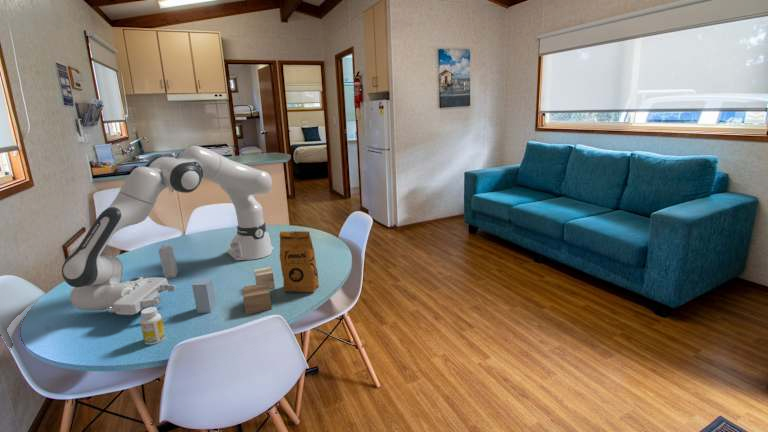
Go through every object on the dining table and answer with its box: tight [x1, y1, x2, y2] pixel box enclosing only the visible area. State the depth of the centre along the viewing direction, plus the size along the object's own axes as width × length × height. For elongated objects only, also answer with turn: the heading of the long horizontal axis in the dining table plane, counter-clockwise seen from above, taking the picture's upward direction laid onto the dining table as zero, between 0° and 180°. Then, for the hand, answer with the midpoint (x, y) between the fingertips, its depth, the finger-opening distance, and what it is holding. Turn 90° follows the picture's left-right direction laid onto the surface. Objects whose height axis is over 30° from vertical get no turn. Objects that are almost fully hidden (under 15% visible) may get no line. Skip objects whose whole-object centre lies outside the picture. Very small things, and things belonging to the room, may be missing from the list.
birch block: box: [253, 266, 276, 290], centre depth 147 cm, size 6×6×6 cm
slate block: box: [191, 278, 217, 314], centre depth 131 cm, size 4×4×10 cm
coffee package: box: [279, 230, 320, 293], centre depth 141 cm, size 10×12×22 cm
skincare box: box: [158, 244, 179, 279], centre depth 160 cm, size 6×4×12 cm
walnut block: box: [242, 283, 273, 315], centre depth 132 cm, size 8×8×6 cm
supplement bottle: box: [139, 306, 166, 346], centre depth 114 cm, size 5×5×10 cm
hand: (167, 294), depth 131 cm, fingers open, 8 cm apart
